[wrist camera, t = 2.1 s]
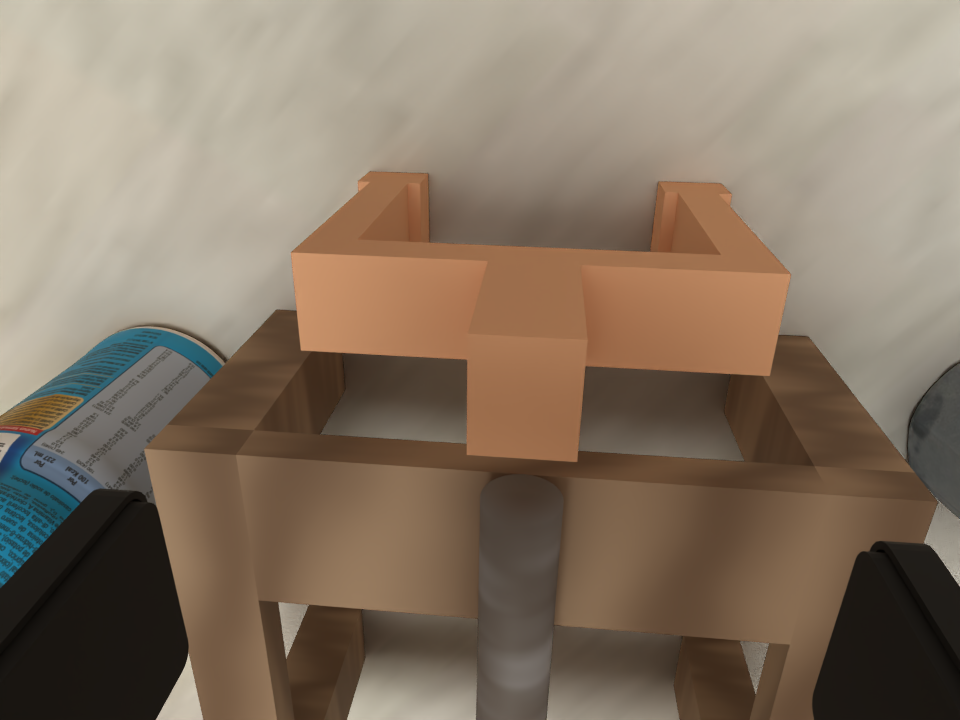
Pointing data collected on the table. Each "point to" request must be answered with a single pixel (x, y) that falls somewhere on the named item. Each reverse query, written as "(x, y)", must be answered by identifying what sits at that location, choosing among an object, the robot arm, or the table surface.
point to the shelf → (431, 529)
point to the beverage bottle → (92, 431)
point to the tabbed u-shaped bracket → (539, 305)
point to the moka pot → (938, 440)
